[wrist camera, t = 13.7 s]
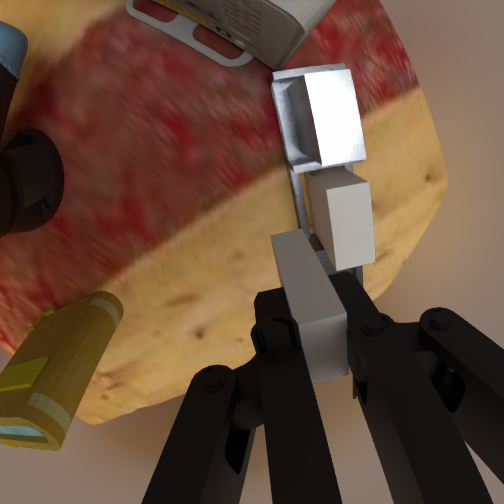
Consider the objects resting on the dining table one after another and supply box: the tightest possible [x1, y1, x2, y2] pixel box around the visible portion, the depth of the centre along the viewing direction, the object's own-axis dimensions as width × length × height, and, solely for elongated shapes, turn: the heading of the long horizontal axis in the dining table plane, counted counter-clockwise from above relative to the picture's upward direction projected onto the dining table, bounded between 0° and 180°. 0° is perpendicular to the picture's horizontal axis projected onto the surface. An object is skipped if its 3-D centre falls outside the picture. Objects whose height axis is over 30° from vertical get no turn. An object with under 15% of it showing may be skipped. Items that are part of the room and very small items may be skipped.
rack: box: [268, 63, 366, 287], centre depth 33 cm, size 8×31×12 cm, turn 13°
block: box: [304, 166, 375, 271], centre depth 32 cm, size 4×8×11 cm, turn 13°
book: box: [0, 291, 123, 451], centre depth 34 cm, size 17×7×25 cm, turn 112°
